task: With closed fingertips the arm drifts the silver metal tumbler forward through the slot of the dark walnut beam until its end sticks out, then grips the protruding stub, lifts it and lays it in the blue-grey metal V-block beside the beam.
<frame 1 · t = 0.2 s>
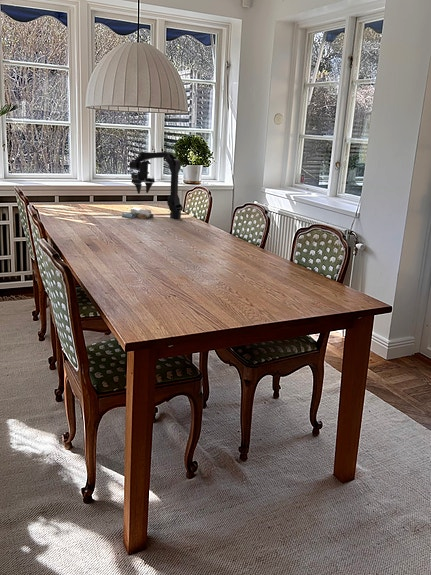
hand: (142, 193, 364), 14 cm above the table, fingers open, 9 cm apart
v block: (129, 218, 348), on the table
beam: (140, 217, 352), on the table
silver metal tumbler: (140, 216, 352), point 1 cm above the table, touching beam
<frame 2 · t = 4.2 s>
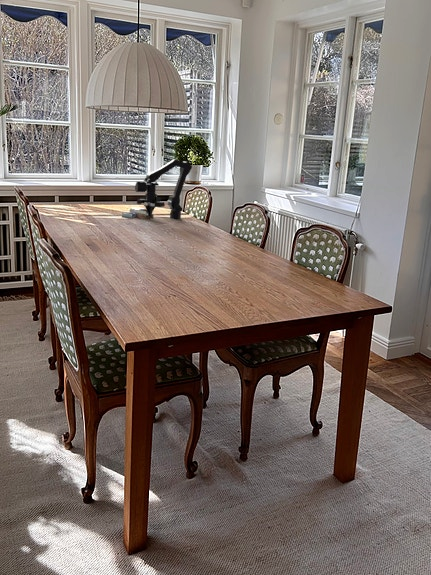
hand: (150, 216, 348), 2 cm above the table, fingers closed
silver metal tumbler: (139, 216, 352), point 1 cm above the table, tilted 7°, touching gripper
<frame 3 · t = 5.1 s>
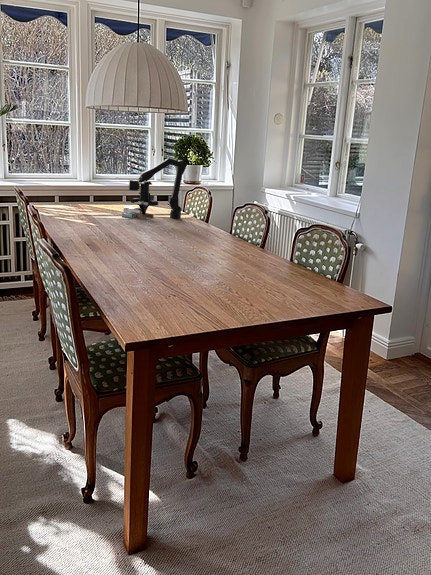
hand: (143, 214, 350), 2 cm above the table, fingers closed
silver metal tumbler: (133, 215, 354), point 1 cm above the table, tilted 7°, touching gripper
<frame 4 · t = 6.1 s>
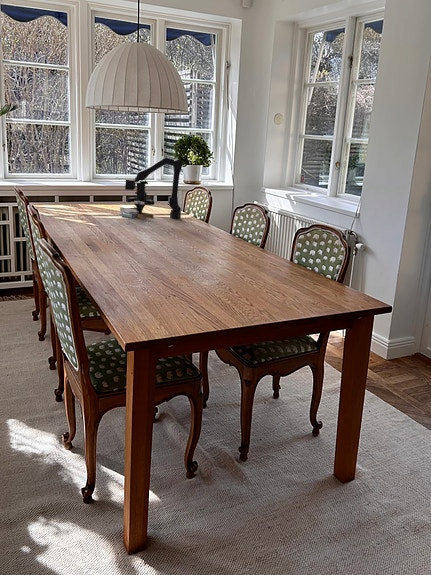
hand: (140, 214, 351), 2 cm above the table, fingers closed
silver metal tumbler: (129, 214, 356), point 1 cm above the table, tilted 8°, touching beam, gripper
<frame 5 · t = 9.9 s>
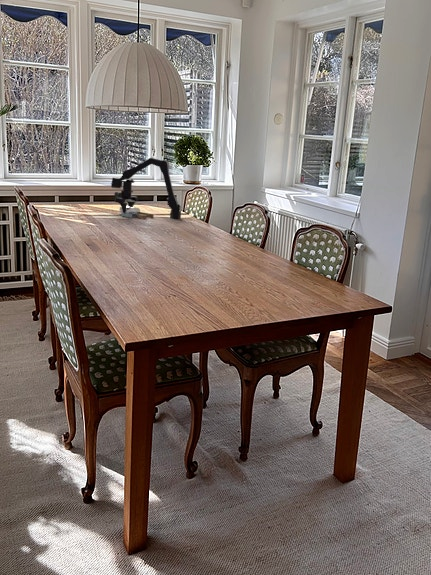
hand: (126, 212, 357), 2 cm above the table, fingers closed on silver metal tumbler, 6 cm apart
silver metal tumbler: (129, 214, 356), point 1 cm above the table, touching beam, gripper
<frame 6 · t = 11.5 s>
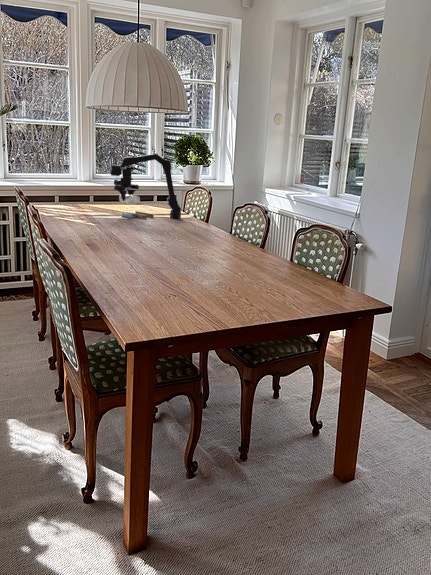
hand: (126, 200, 348), 11 cm above the table, fingers closed on silver metal tumbler, 6 cm apart
silver metal tumbler: (129, 203, 347), point 9 cm above the table, touching gripper
when the fingers open (5 cm above the table, at t = 13.2 s): silver metal tumbler stays where it is, resting on v block.
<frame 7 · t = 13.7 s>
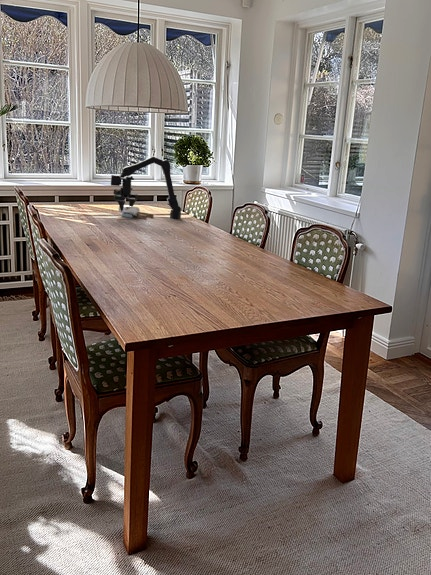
hand: (126, 210, 348), 5 cm above the table, fingers open, 9 cm apart
silver metal tumbler: (129, 214, 347), point 2 cm above the table, touching v block
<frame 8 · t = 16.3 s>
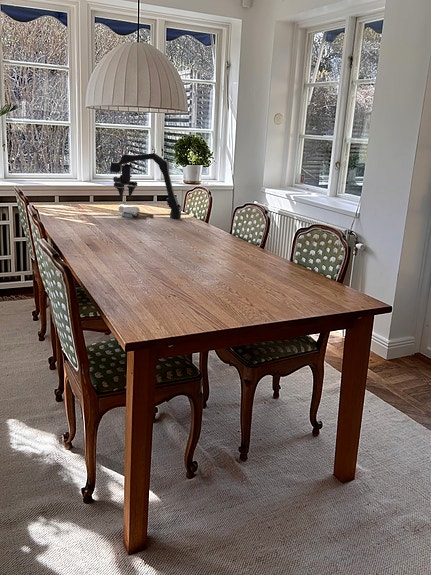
hand: (125, 197, 355), 12 cm above the table, fingers open, 9 cm apart
nothing on the table moved.
at the end: silver metal tumbler inside the target area on the v block (0.5 cm from its centre), point 2.3 cm above the v block's base; silver metal tumbler touching v block; the gripper is holding nothing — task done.
